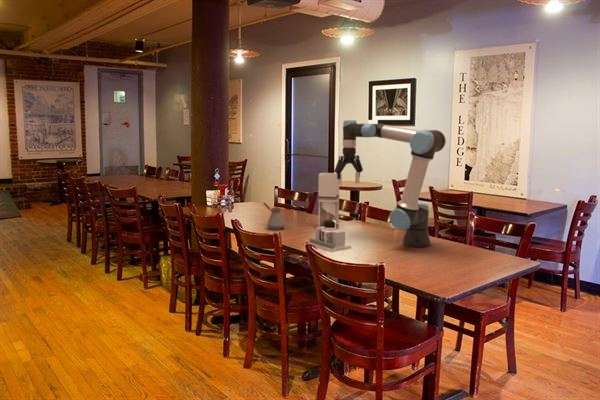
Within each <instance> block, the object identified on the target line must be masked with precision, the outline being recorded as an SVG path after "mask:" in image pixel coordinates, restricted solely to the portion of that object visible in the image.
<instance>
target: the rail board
mask: <svg viewBox="0 0 600 400" xmlns="http://www.w3.org/2000/svg"><path fill="white" fill-rule="evenodd" d="M321 229H325V228H324V226H323V227H318V226H317V227H315V238H313V237H312V238H309V241H308V244H309V243H310V244H312V245H314V246H315V247H314V246H313V247H314V248H317V249H319V250H320V249H322V250H324V251H328V252H330V253H333V252H338V251H343V250H348V249H349V250H350V249H352V245H351V244H347V243H346V231H345V230H338V231H336V232H333V244H330V243H326V242H323V241H321Z"/></svg>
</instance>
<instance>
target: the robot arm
mask: <svg viewBox="0 0 600 400" xmlns="http://www.w3.org/2000/svg"><path fill="white" fill-rule="evenodd" d="M342 125H343V126H342V154H343V155H339V156H338V160H337V163H336V165H335V168H334V172H333V173H337V179H338V185H339V186H342V185H343V173H342V172H343V171H344V169H345V167H346V165H348V164H351V165H352V166H353V168H354V170H355V175H354V177H355V178H354V180H355V181H354V183H355V184H357V185H358V184H360V178H361V173H362V172H363V171H364V168H363V166H362V163H361V160H360V155H357V154H356V153H357V148H356V147H357V138H366V139H367V138H381V139H385V140H392V141H397V142H402V143H407V144H409V148H410V149H411V150H410V151H411V152H410V155H411V156H412V157H411V158H412V159H411V163H410V166H409V169H408V174H407V177H406V181H405V185H404V188H403V192H402V195H401V198H400V199H401V200H399V201H397V202H396V205H395V206H396V207H395V209H393V210H392V211H391V212H390V214H389V221H390V224H391V226H392V227H393V228H394V229H396V230H397V231H398V230H399V231H405V233H404V236H403V238H402V244H403V246H407V247H413V248H426V247H427V248H428V247H431V243H432V242H431V239H430V235H429V230H428V229H429V217H430V214H429V213H430V211H429V208H430V207H429V205H428V204H424V203H418V202H419V198H420V195H421V192H422V189H423V184H424V181H425V178H426V175H427V170H428V167H429V163H430V162H431V161H433V159H434V156H435V153H438V152H440V151H442V150H444V148H445V145H446V143H447V142H446V137H445V135H444V133H443V132H441V131H440V130H438V129H430V130H429V129H423V130H417V129H411V128H407V127H406V128H405V127H400V126H395V125H393V126H392V125H386V124H384V123H357V120H354V119H346V120H343V124H342Z"/></svg>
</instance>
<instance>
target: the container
mask: <svg viewBox="0 0 600 400" xmlns="http://www.w3.org/2000/svg"><path fill="white" fill-rule="evenodd" d="M324 228H325V229H321V241H323V242H326V243H330V244H333V232H336V231H339V230H338V229H337V230H336V221H335V220H326V221H325V222H324Z"/></svg>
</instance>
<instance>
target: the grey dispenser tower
mask: <svg viewBox="0 0 600 400" xmlns="http://www.w3.org/2000/svg"><path fill="white" fill-rule="evenodd" d="M317 191H318V193H317V195H318V196H317V197H318V198H317V200H318V201H317V202H318V218H317V219H318V224H317V227H323V226H324V222H325V221H326V220H335V221H336V230H338V229H339V228H340V227H339V226H340V224H339V221H340V220H339V219H340V185H338V179H337V173H336V172H321V173H319V174H318V190H317Z"/></svg>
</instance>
